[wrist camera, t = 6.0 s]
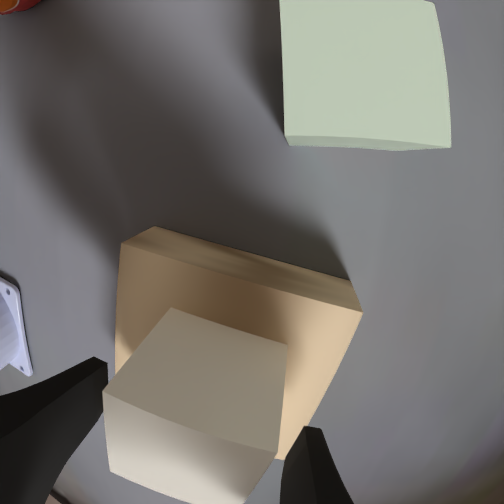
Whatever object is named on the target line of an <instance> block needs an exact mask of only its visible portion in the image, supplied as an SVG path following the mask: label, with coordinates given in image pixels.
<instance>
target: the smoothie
mask: <svg viewBox="0 0 504 504" xmlns="http://www.w3.org/2000/svg"><path fill="white" fill-rule="evenodd" d="M40 1H41V0H0V14H2V15H4V14H10V13H12V12H14V11H25V10H27V9H29V8H31V7H33V6H34V5H36V4H37V3H38V2H40Z"/></svg>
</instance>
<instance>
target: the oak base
mask: <svg viewBox="0 0 504 504" xmlns="http://www.w3.org/2000/svg"><path fill="white" fill-rule="evenodd" d="M171 307H172V308H175V309H177V310H180V311H183V312H186V313H189V314H192V315H195V316H197V317H200V318H203V319H206V320H209V321H212V322H215V323H218V324H221V325H224V326H227V327H231V328H234V329H237V330H240V331H243V332H246V333H250V334H253V335H256V336H259V337H263V338H266V339H269V340H273V341H276V342H280V343H283V344H287V345H288V350H287V362H286V374H285V385H284V396H283V407H282V417H281V427H280V436H279V445H278V453H277V455H276V456H275V458H276V459H282V460H285V457H286V455H287V454H288V452H289V450H290V449H291V447H292V445H293V444H294V442H295V440H296V439H297V437H298V435H299V433H300V432H301V430H302V428H303V426H307V425H308V423H309V421H310V420H311V418H312V416H313V414H314V412H315V411H316V409H317V407H318V405H319V403H320V401H321V400H322V398H323V396H324V394H325V392H326V390H327V388H328V386H329V384H330V382H331V381H332V379H333V377H334V375H335V373H336V371H337V369H338V367H339V365H340V362H341V360H342V358H343V356H344V354H345V352H346V350H347V348H348V346H349V344H350V341H351V339H352V337H353V335H354V333H355V330H356V328H357V326H358V324H359V321H360V319H361V317H362V314H363V311H362V308H361V306H360V303H359V300H358V298H357V295H356V293H355V290H354V288H353V286H352V283H351V281H348V280H345V279H341V278H337V277H334V276H330V275H327V274H323V273H320V272H316V271H313V270H309V269H305V268H302V267H298V266H295V265H291V264H288V263H284V262H280V261H277V260H273V259H270V258H266V257H263V256H259V255H256V254H252V253H248V252H245V251H241V250H238V249H234V248H231V247H227V246H224V245H220V244H216V243H213V242H209V241H206V240H202V239H199V238H195V237H192V236H188V235H185V234H181V233H177V232H174V231H170V230H167V229H163V228H160V227H156V226H154V227H152V228H150V229H148V230H146V231H144V232H142V233H140V234H138V235H136V236H134V237H132V238H130V239H128V240H126V241H124V242H122V243H121V249H120V259H119V271H118V285H117V302H116V329H115V375H116V374H117V372H118V371H119V370H120V369H121V367H122V366H123V365H124V364H125V362H126V361H127V360H128V359H129V357H130V356H131V355H132V354H133V353H134V351H135V350H136V349H137V348H138V346H139V345H140V344H141V343H142V342H143V340H144V339H145V338H146V337H147V335H148V334H149V333H150V332H151V331H152V329H153V328H154V327H155V326H156V325H157V323H158V322H159V321H160V320H161V318H162V317H163V316H164V315H165V314H166V312H167V311H168V310H169V309H170V308H171Z"/></svg>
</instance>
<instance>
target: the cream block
mask: <svg viewBox="0 0 504 504" xmlns="http://www.w3.org/2000/svg"><path fill="white" fill-rule="evenodd" d="M287 350H288V345H287V344H283V343H280V342H276V341H273V340H269V339H266V338H263V337H259V336H256V335H253V334H250V333H246V332H243V331H240V330H237V329H234V328H231V327H227V326H224V325H221V324H218V323H215V322H212V321H209V320H206V319H203V318H200V317H197V316H195V315H192V314H189V313H186V312H183V311H180V310H177V309H175V308H172V307H171V308H170V309H169V310H168V311H167V312H166V314H165V315H164V316H163V317H162V318H161V320H160V321H159V322H158V323H157V325H156V326H155V327H154V328H153V329H152V331H151V332H150V333H149V334H148V335H147V337H146V338H145V339H144V340H143V342H142V343H141V344H140V345H139V346H138V348H137V349H136V350H135V351H134V353H133V354H132V355H131V356H130V357H129V359H128V360H127V361H126V362H125V364H124V365H123V366H122V367H121V369H120V370H119V371H118V372H117V374H116V375H115V376H114V377H113V379H112V380H111V381H110V382H109V384H108V385H107V386H106V387H105V389H104V390H103V391H102V394H103V410H104V423H105V433H106V443H107V451H108V459H109V466H110V471H111V472H113V473H115V474H117V475H119V476H122V477H124V478H126V479H128V480H130V481H133V482H135V483H137V484H140V485H142V486H144V487H147V488H149V489H152V490H154V491H157V492H160V493H162V494H165V495H168V496H171V497H173V498H176V499H179V500H182V501H185V502H188V503H192V504H243V503H244V502H245V500H246V499H247V498H248V496H249V495H250V493H251V492H252V491H253V489H254V488H255V486H256V485H257V483H258V482H259V480H260V479H261V478H262V476H263V475H264V473H265V472H266V470H267V469H268V467H269V466H270V464H271V462H272V461H273V459H274V458H275V456H276V455H277V453H278V445H279V436H280V427H281V417H282V407H283V396H284V385H285V374H286V362H287Z"/></svg>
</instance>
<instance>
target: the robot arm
mask: <svg viewBox="0 0 504 504" xmlns="http://www.w3.org/2000/svg"><path fill="white" fill-rule="evenodd" d="M8 363H10V364H11V365H12V366H14V367H15V368H17V369H18V370H20V371H21V372H23V373H24V374H25V375H27V376H31V375H32V374H33V371H32V366H31V362H30V357H29V352H28V347H27V342H26V336H25V330H24V323H23V316H22V309H21V300H20V293H19V290H18V288H17V287H16V286H15V285H13V284H11V283H10V282H8V281H6V280H4V279H3V278H1V277H0V370H1V369H2V368H3V367H5V366H6V365H7V364H8ZM107 385H108V368H107V363H106V362H104V361H102V360H100V359H98V358H96V357H92V358H90V359H88V360H85V361H83V362H81V363H79V364H77V365H75V366H74V367H72V368H70V369H68V370H65V371H63V372H61V373H59V374H57V375H55V376H53V377H51V378H49V379H46V380H44V381H42V382H39V383H37V384H34V385H32V386H29V387H27V388H24V389H22V390H19V391H16V392H12V393H9V394H5V395H1V396H0V504H45V502H46V500H47V497H48V496H49V494H50V491H51V489H52V487H53V485H54V483H55V482H56V480H57V478H58V476H59V474H60V472H61V471H62V469H63V467H64V465H65V464H66V462H67V461H68V459H69V458H70V457H71V455H72V454H73V453H74V451H75V450H76V449H77V447H78V446H79V445H80V443H81V442H82V441H83V439H84V438H85V437H86V435H87V434H88V433H89V432H90V430H91V429H92V428H93V426H94V425H95V423H96V422H97V421H98V419H99V417H100V416H101V414H102V412H103V394H102V391H103V390H104V389H105V387H106V386H107ZM280 504H354V503H353V501H352V499H351V498H350V496H349V494H348V492H347V490H346V488H345V486H344V484H343V482H342V480H341V477H340V475H339V473H338V471H337V469H336V466H335V464H334V461H333V459H332V456H331V454H330V451H329V449H328V446H327V443H326V440H325V438H324V435H323V432H322V430H321V429H320V428H315V427H309V426H303V428H302V430H301V432H300V433H299V435H298V437H297V439H296V440H295V442H294V444H293V445H292V447H291V449H290V450H289V452H288V454H287V455H286V457H285V462H284V467H283V473H282V479H281V492H280Z"/></svg>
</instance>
